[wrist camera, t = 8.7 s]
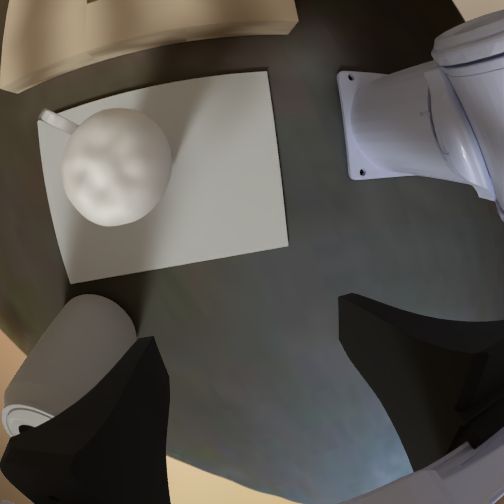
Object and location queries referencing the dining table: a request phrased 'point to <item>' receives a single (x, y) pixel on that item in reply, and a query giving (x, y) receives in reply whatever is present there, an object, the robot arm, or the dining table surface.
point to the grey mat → (182, 180)
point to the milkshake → (113, 164)
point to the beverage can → (67, 361)
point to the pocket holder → (121, 31)
